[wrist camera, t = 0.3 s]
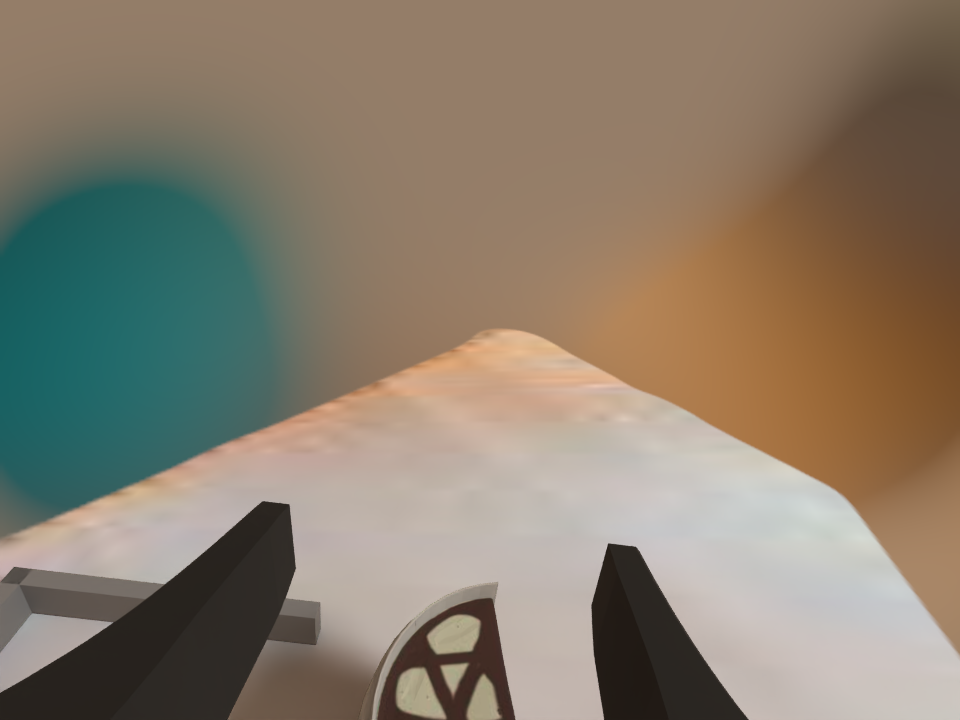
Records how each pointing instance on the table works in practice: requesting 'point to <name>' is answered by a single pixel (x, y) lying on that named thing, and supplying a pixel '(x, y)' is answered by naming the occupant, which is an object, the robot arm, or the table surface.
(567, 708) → the table surface
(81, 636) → the table surface
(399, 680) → the food container
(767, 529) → the table surface
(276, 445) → the table surface
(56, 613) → the dock
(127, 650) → the robot arm
